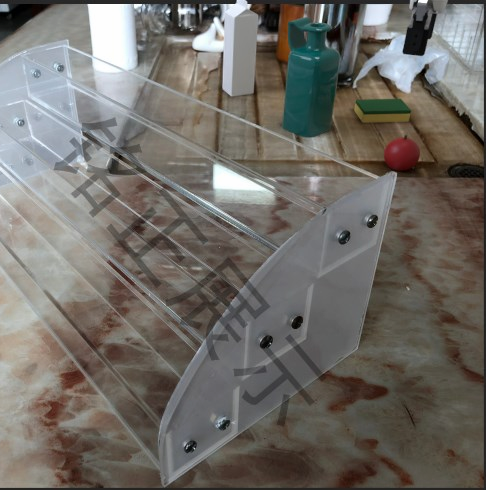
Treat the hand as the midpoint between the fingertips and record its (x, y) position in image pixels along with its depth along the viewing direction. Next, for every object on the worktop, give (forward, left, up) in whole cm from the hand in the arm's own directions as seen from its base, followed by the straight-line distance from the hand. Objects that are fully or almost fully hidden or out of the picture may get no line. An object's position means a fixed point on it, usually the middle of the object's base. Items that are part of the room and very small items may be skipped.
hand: (417, 46), depth 95 cm
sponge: (-7, -29, -24) cm, 38 cm away
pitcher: (+11, -24, -24) cm, 36 cm away
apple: (-3, -4, -24) cm, 25 cm away
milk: (+23, -47, -24) cm, 58 cm away
